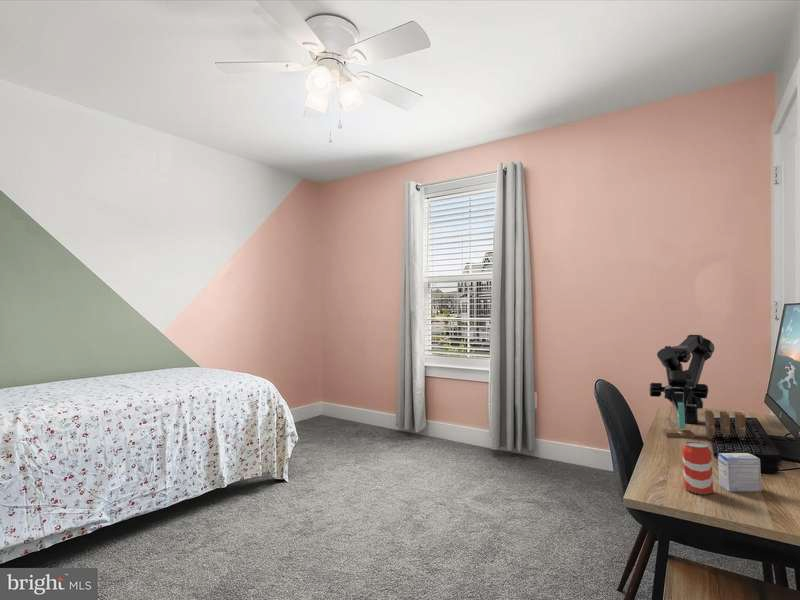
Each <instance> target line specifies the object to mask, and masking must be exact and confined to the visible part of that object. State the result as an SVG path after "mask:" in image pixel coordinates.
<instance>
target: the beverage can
mask: <svg viewBox="0 0 800 600" xmlns="http://www.w3.org/2000/svg"><path fill="white" fill-rule="evenodd" d="M683 444H684V445H683V446H682V448H681V456H682V473H683V474H682V475H683V477H682V478H683V487H684V488H685V489H686V490H688V491H689V492H690V491H691V492H690V493H693V492H694V493H693V494H696V493H698V494H697V495H708V494H710V493H712V492H713V491H714V481H713V479H714V478H713V457H712V451H711V449H710V448H709V445H708V444H707V443H705V442H701V441H693V440H691V441H690V440H689V441H685V442H684V443H683Z"/></svg>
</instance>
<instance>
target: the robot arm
mask: <svg viewBox="0 0 800 600" xmlns="http://www.w3.org/2000/svg"><path fill="white" fill-rule="evenodd" d="M714 352H715V344H714V343H713V342H712V341H711V340H710V339H708V338H705V337H704V336H703V335H701V334H688V335H687V337H686V338H685V339H684V340H683V341H682V342H681V343H680V344H679V345H674V346H671V345H670V346H669V345H665V346H664V348H661V349H659V351H657V354H656V356H657V359H659V361H660V363H661V365H662V366H663V367H664V368H665V372H666V378H667V384H668V385H666V384H665V385H664V386H663V385H662V383H663V382H650V383H649V396H650V397H654V398H655V397H657V398H658V397H659V398H660V397H661V396H662V393H663V394H664V397H663V398H664V399H667V400H668V401H669V402H670V403H671V404H672V405H673V407H674V408H675V409H676V411H677V410H678V403H677V402H683V403H684V410H685V424H696V425H698V424H699V425H700V424H702V422H701V421H700V420H699V411H698V410H699V409H703V408H704V399H707V398H708V396H709V395H708V393H709V385H707V384H705V383H699V382H700V378H701V376H702V373H703V368H704V365H705V362H706V361H707V360H709V359H711V358H712V355H713V353H714ZM689 361H690V363H689V364H688V365H689V366H688V369H685V370H684V368H683V364H687V363H688V362H689ZM702 399H703V400H702Z"/></svg>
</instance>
